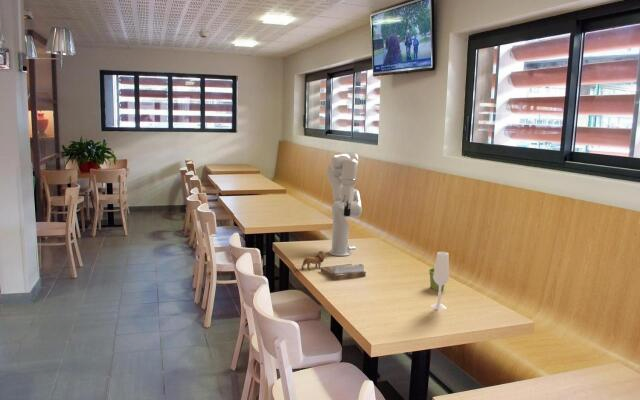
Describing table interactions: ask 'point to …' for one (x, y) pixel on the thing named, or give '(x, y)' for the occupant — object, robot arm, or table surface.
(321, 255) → the lion figurine
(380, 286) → the table surface
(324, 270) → the stool seat
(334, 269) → the folding leg
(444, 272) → the champagne flute
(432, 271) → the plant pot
